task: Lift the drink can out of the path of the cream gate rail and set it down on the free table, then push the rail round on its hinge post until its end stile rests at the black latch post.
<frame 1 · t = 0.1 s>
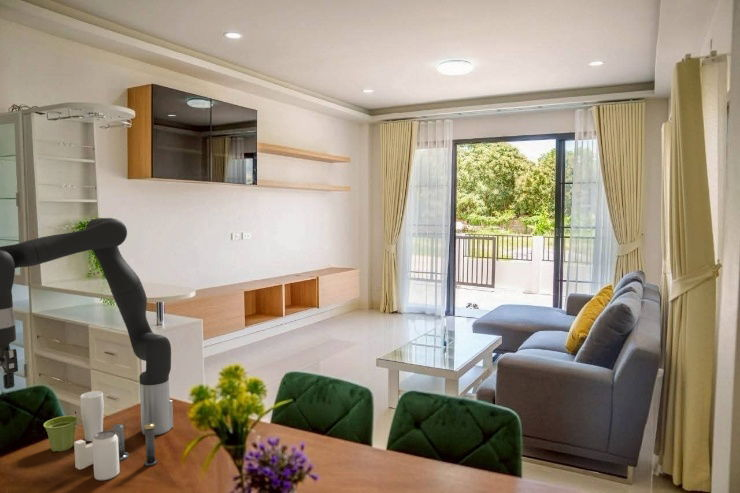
hand: (1, 385, 138), 29 cm above the table, tool pointing down, fingers open, 8 cm apart
gate: (95, 448, 152), point 6 cm above the table, hinge at 0.0°
can: (107, 475, 148), on the table
latch post: (151, 463, 155), on the table
hinge post: (119, 457, 159), on the table
plant pot: (62, 448, 166), on the table
white tapered cup: (94, 439, 172), on the table
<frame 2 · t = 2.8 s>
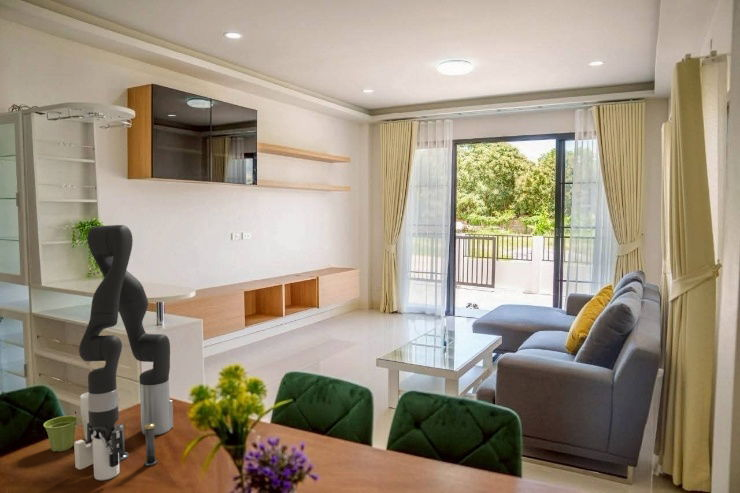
hand: (105, 462, 147), 4 cm above the table, tool pointing down, fingers open, 8 cm apart
gate: (95, 448, 152), point 6 cm above the table, hinge at -0.1°, touching gripper
everything else where it was.
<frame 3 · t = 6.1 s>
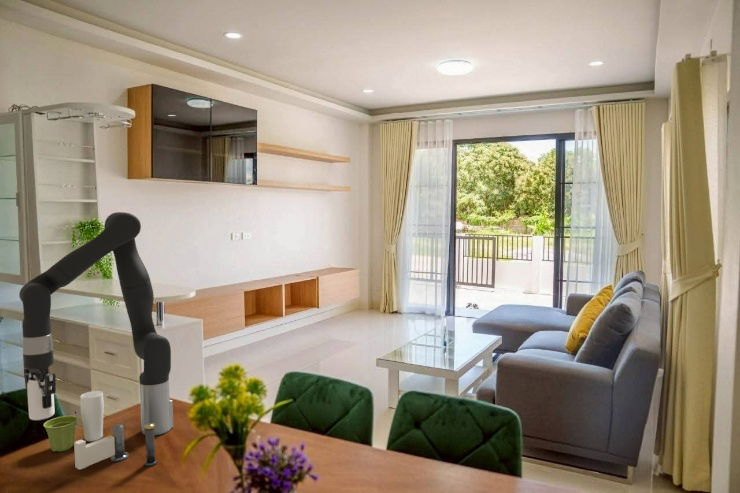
hand: (41, 405, 155), 18 cm above the table, tool pointing down, fingers closed on can, 6 cm apart
gate: (95, 448, 152), point 6 cm above the table, hinge at -0.1°
can: (42, 417, 155), point 14 cm above the table, touching gripper
everything else where it was.
when the fingers open (5 cm above the table, at t = 8.8 s): can drops 1 cm, on the table.
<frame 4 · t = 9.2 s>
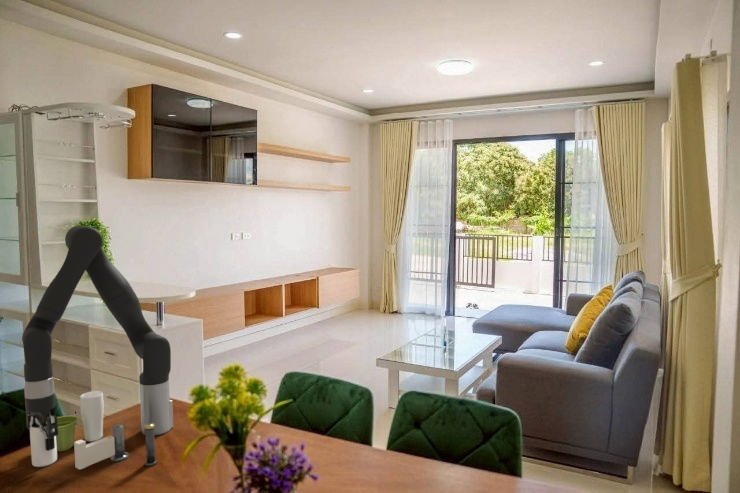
hand: (43, 446, 156), 5 cm above the table, tool pointing down, fingers open, 8 cm apart
can: (44, 463, 156), on the table
everything else where it was.
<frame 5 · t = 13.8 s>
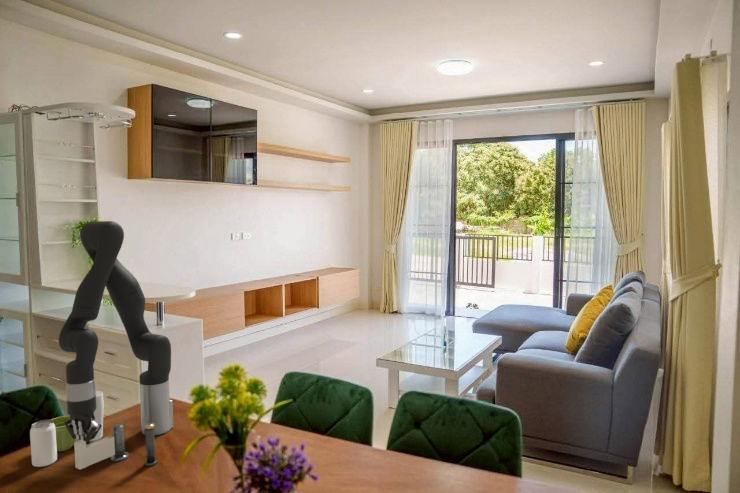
hand: (84, 453, 153), 4 cm above the table, tool pointing down, fingers closed
gate: (95, 448, 152), point 6 cm above the table, hinge at 0.2°, touching gripper
everything else where it was.
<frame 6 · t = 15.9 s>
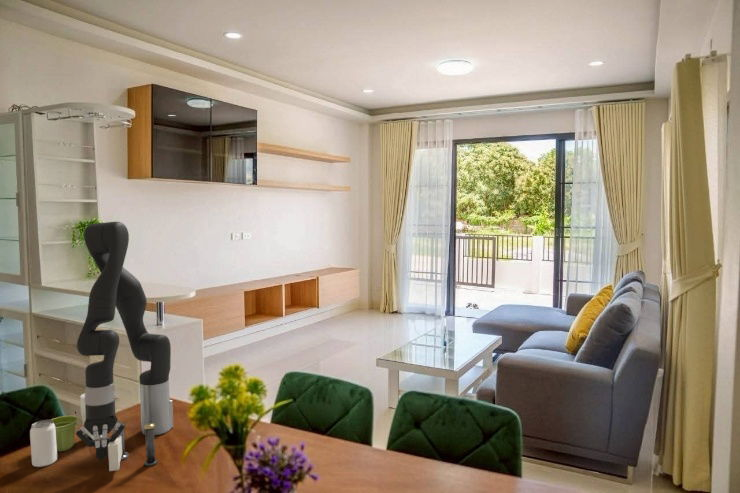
hand: (101, 458, 149), 4 cm above the table, tool pointing down, fingers closed
gate: (115, 449, 151), point 6 cm above the table, hinge at 52.9°, touching gripper
everything else where it was.
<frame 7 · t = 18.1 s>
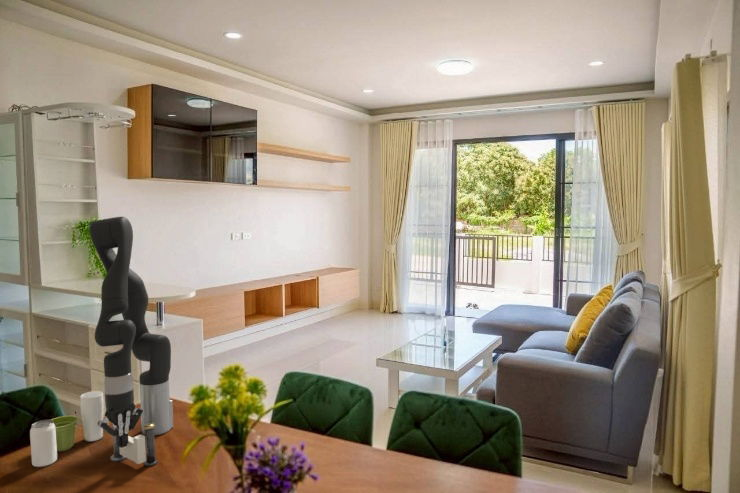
hand: (122, 446, 152), 6 cm above the table, tool pointing down, fingers closed
gate: (131, 445, 154), point 6 cm above the table, hinge at 87.4°
everything else where it was.
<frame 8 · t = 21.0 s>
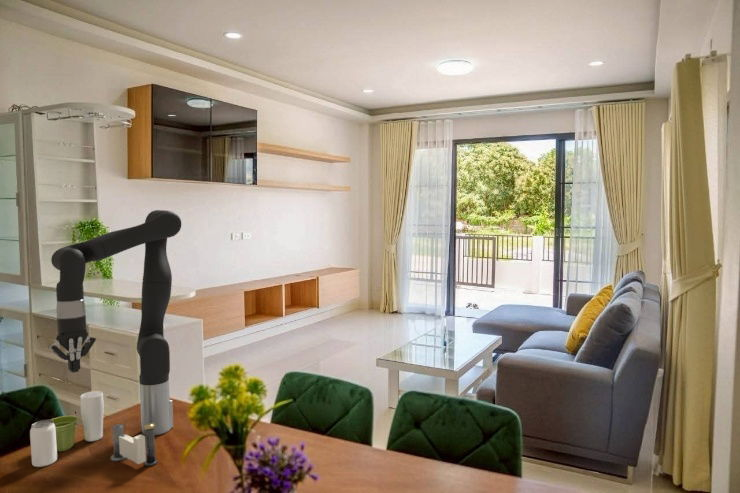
hand: (74, 371, 156), 27 cm above the table, tool pointing down, fingers closed
nothing on the table moved.
at the end: gate at +87° (first picture: +0°); can inside the target area (0.2 cm from its centre), on the table; can tilted 0° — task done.
